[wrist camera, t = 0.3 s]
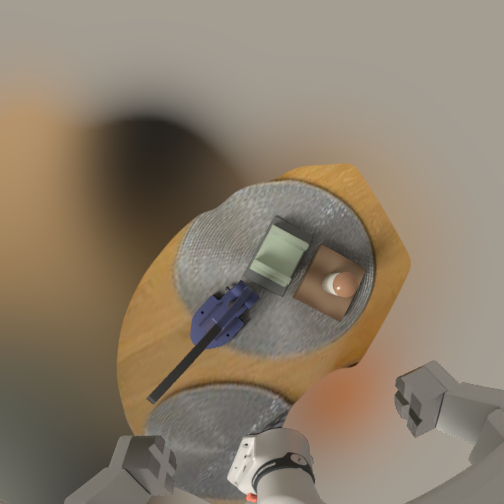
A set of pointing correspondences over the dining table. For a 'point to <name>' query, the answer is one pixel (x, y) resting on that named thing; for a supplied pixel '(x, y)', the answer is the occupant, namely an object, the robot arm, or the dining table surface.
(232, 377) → the dining table surface
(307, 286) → the board
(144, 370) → the dining table surface
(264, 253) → the rack
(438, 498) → the robot arm
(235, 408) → the dining table surface
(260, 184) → the dining table surface
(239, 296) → the hand press
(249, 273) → the mat
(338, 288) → the mushroom
